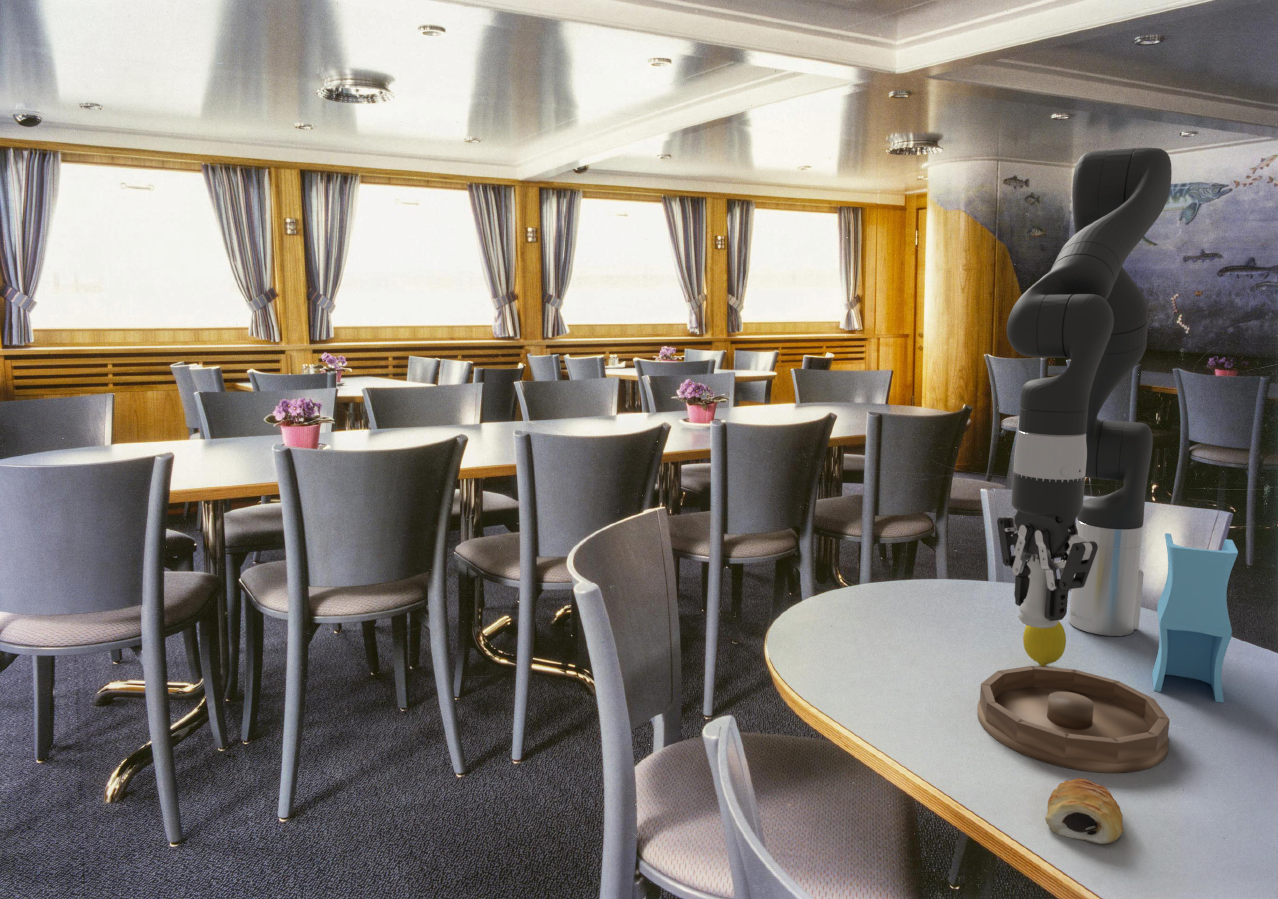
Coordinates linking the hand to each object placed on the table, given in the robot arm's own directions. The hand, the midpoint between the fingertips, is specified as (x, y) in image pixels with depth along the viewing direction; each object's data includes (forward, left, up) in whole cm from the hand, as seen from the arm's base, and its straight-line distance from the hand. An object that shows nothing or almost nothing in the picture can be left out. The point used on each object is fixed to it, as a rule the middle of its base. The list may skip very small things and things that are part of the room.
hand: (1038, 611), depth 103 cm
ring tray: (-6, 0, -16) cm, 17 cm away
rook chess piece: (0, 0, -1) cm, 1 cm away
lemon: (-16, -16, -16) cm, 27 cm away
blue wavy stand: (-30, -5, -16) cm, 34 cm away
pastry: (+8, +16, -16) cm, 24 cm away
